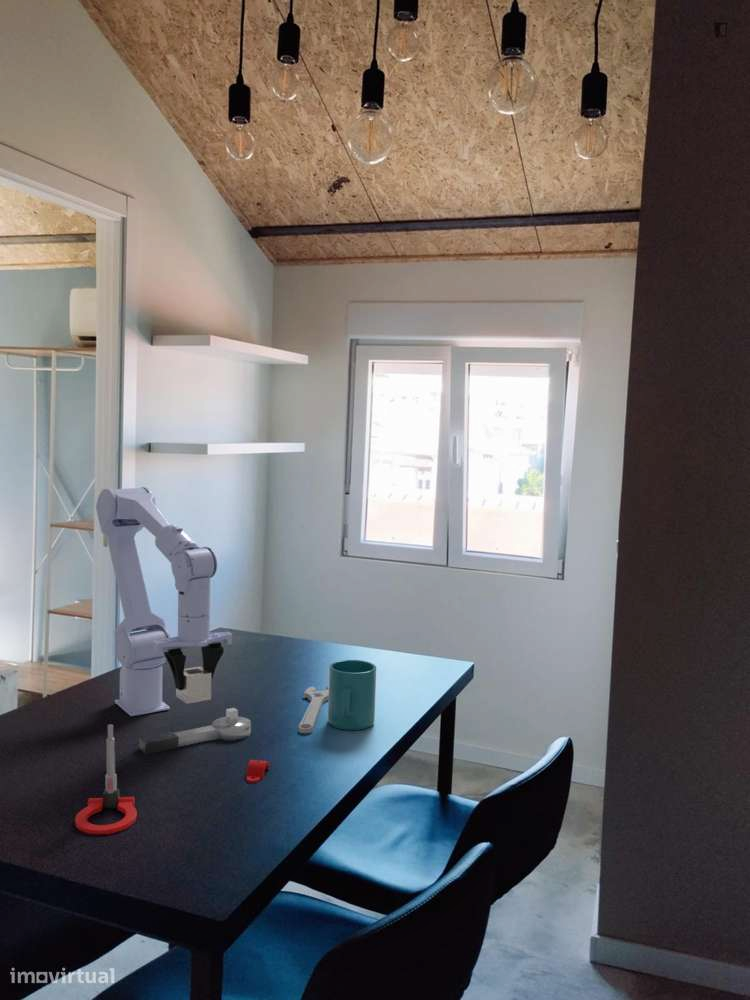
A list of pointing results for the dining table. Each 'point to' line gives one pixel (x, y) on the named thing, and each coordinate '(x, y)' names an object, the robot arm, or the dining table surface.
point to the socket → (195, 685)
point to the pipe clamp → (256, 770)
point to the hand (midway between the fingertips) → (193, 686)
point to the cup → (351, 694)
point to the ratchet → (199, 733)
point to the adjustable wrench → (312, 708)
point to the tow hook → (108, 799)
